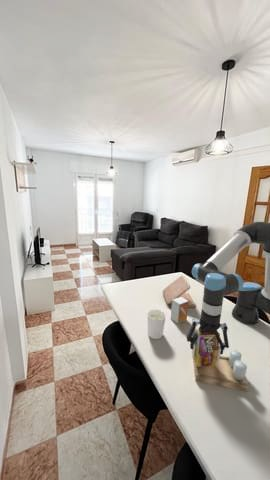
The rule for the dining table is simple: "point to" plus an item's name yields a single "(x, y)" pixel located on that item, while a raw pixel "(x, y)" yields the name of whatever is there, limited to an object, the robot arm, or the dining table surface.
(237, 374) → the smooth rounded lump
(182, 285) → the case
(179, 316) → the small box
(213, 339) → the candy box
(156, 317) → the white cream cup
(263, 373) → the dining table surface
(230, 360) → the white egg
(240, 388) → the tan tray
